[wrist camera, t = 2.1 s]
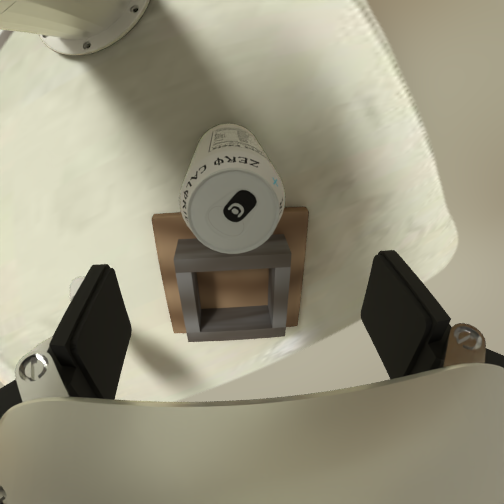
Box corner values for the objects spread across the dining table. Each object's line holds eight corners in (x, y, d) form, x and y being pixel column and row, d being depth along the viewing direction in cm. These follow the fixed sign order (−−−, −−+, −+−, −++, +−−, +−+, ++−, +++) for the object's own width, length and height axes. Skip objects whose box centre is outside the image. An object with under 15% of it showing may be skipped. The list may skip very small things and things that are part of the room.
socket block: (153, 214, 31) (143, 237, 27) (305, 206, 32) (319, 228, 28) (174, 326, 39) (171, 356, 35) (295, 319, 41) (303, 348, 36)
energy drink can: (184, 157, 29) (153, 223, 16) (224, 109, 27) (225, 132, 14) (231, 193, 31) (240, 281, 18) (271, 149, 29) (314, 206, 16)
